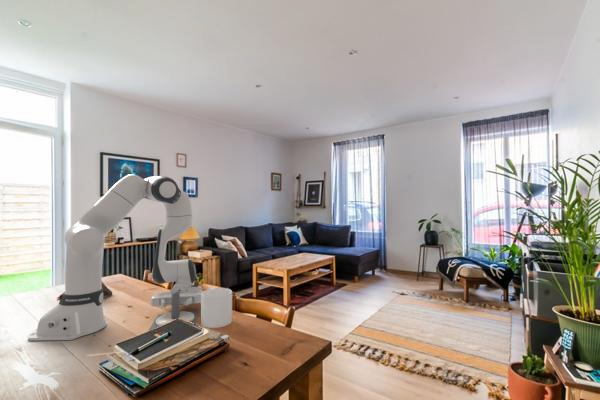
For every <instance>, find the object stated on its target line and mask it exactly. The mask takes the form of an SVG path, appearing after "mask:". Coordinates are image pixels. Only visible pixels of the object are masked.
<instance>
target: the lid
mask: <svg viewBox="0 0 600 400" xmlns="http://www.w3.org/2000/svg"><path fill="white" fill-rule="evenodd" d="M180 306H181V305H180V292H179V291H175V292H172V293H171V305H170V307H171V308H170V309H171V310H170V312H167V313H163V314H164V315H162V316H160V317H158V318H157V319H156V318H155V319H156V325H157V326H162V325H165V324H167V323H170V322H172V321H174V320H175V319H183V320H185V321H189V322H192V321H193V320H194V314H193V313H191V312H192V311H187V310H186V311H185V310H182V311H181V309H180Z"/></svg>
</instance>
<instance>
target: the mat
mask: <svg viewBox="0 0 600 400" xmlns="http://www.w3.org/2000/svg"><path fill="white" fill-rule="evenodd" d="M190 312H191V313H193V314H194V320H193V321H192V323H195V324H196V322H197V318H198V314H199V310H198V311H190ZM164 314H165V313H163V314H162V313H161V314H159V313H158V314H157V316H156V318H155V319H154V321H153V323H152V324H151V325H150V327H149V328H148V330H147V331H148V332H150V330H152V329H155V328H157V327H159V326H157V325H156V319H157V318H158V317H160V316H162V315H164ZM152 331H153V330H152Z"/></svg>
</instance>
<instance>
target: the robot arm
mask: <svg viewBox="0 0 600 400" xmlns="http://www.w3.org/2000/svg"><path fill="white" fill-rule="evenodd" d="M144 198H145V199H147V200H150V201H153V202H158V203H159V202H160V203H163V205H164V208H165V217H166V218H165V222H164V224H163V226H161V227H159V231H158V234H157V238H156V243H155V244H156V245H155V252H154V261H153V267H152V271H151V277H152V280H153V281H154V282H155V283H156V284H158V285H161V284H162V285H163V284H168V283H174V282H175V284H174V285H173V287H172V288H171V289H170V291H165V292H157V293H155V294H154V295H152V297H151V299H150V306H151V307H161V308H167V306H171V293H172V292H175V291H179V292H180V306H182V305H184V306H186V307H188V306H189V305H191V304H192V305H193V304H201V293H202V292H203V291H204V290H203V289H202V286H201V285H197V284H194V283H195V281H196V279H197V268H196V264H195V263H194V261H193V260H192V259H190V258H186V259H176V260H166V252H167V251H166V250H167V245H168V242H169V241H170V240H171V239H173V238H174V239H175V238H176V237H179V236H181V235H183V234H185V233H186V232H188V231H189V229H190V228H191V226H192V225H193V212H192V211H193V210H192V205H191V200H190V197H189V194H188V193H187V192H185V191H184V190H181V189H180V188H179V185H178V184H177V183H176V181H175V180H174V179H173V178H171V177H168V176H162V175H154V176H153V175H152V176H147V177H143V178H142V177H141V176H140V175H137V174H133V173H131V174H126V175H125V176H123V177H122V178H120V179H119V180H118V181H117V182H116V183H115V184H113V186H111V187H110V188H109V189H108V191H106V192H105V193H104V194H103V195H102V196H101V198H100V199H98V201H97V202H96V203H95V204H93V206H92V207H91V208H89V210H87V211H86V212H85V213H84V214H83V215H82V216H81V217H79V219H78V220H76V222H75V223H73V224H72V226H70V227H69V228H68V230H67V231H66V232H65V235H64V242H65V245H66V247H65V248H66V251H65V253H66V254H65V255H66V256H65V271H64V277H65V278H64V291H63V292H62V293H61V294H60V295H59V296H57V297H56V301H57V302H58V304H57V305H55V306H54V307H53V308H52V309H50V310H48V311H47V312H46V313H45V314H44V315H42V316H41V317H40V318H39V320H38V323H37V328H36V329H34V330H33V331H32V332H31V333H29V335H28V336H27V340H28V341H31V342H32V341H72V340H76V339H78V338H81V337H83V336H86V335H87V336H88V335H90V334H94V333H95V332H98V331H100V330H102V329H104V328H106V326H107V321H106V318H105V315H104V308H103V302H104V298H103V288H102V282H103V280H102V279H103V276H102V275H103V274H102V272H103V271H102V270H103V260H104V252H105V251H104V250H105V237H106V236H107V235H108V234H109V233H110V232H111V231H112V230H114V228H116V227H117V226H118V225H119V224H120V223H121V222H122V221H124V219H125V218H126V217H127V216H128V215H129V214H130V212H131V211H132V210H133V209H134V208H135V206H137V205H138V203H139V202H140V201H141V200H143V199H144Z"/></svg>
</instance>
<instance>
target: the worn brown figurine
mask: <svg viewBox="0 0 600 400" xmlns="http://www.w3.org/2000/svg"><path fill="white" fill-rule="evenodd" d="M102 288H103V299H104V298H107V297H110V296H113V291H112V290H111V289H109V288H108V286H107V285H106V284H105V283H104V282H103V281H102Z"/></svg>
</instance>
